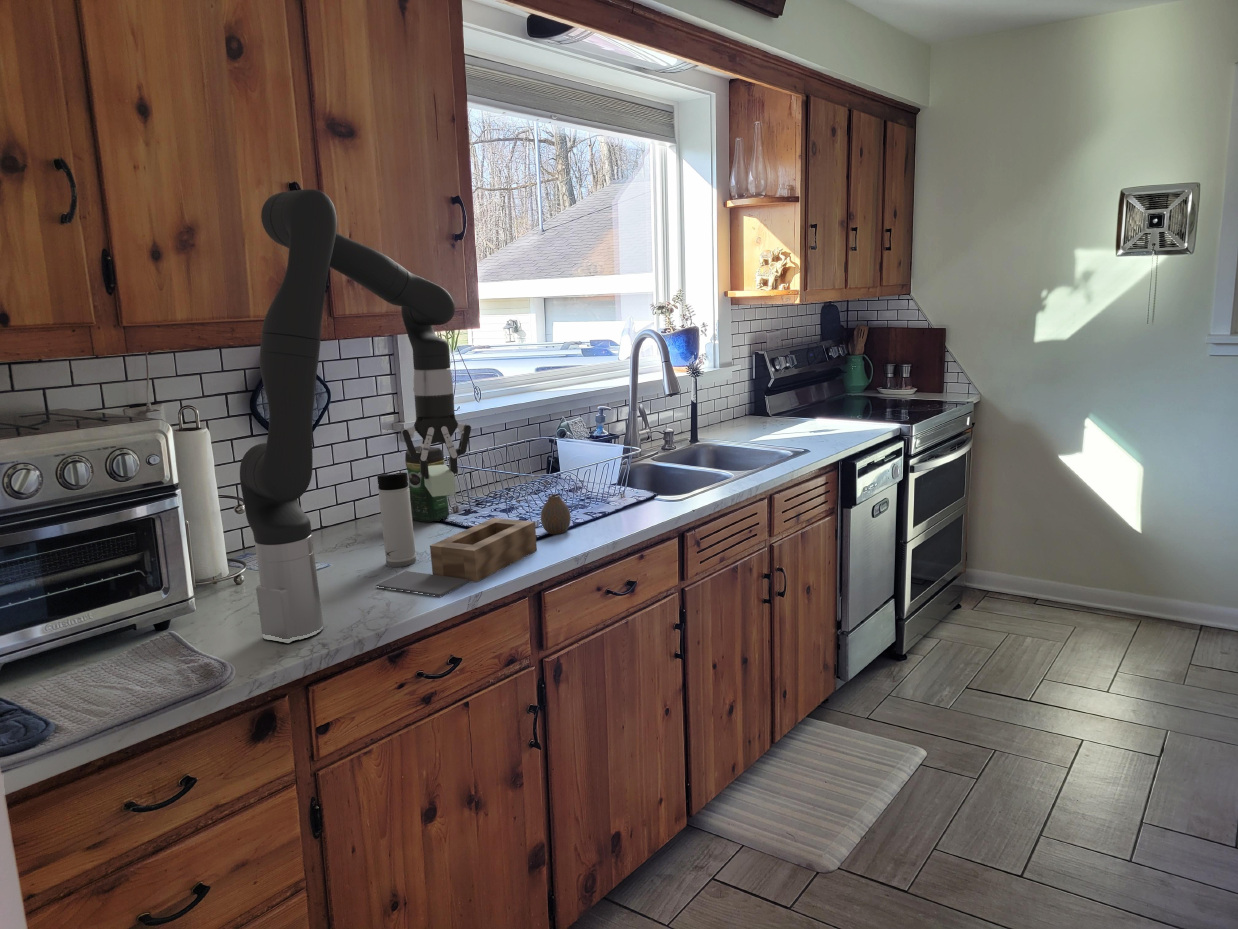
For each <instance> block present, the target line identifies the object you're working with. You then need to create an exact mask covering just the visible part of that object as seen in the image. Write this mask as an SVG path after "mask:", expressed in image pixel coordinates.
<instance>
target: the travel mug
mask: <svg viewBox="0 0 1238 929" xmlns="http://www.w3.org/2000/svg"><path fill="white" fill-rule="evenodd" d="M376 477H377V478H376V479H377V485H378V486H377V487H378V490H377V491H378V498H379V506H380V507H379V508H380V517H381V518H380V519H381V527H382V536H383V544H384V553H385V562H386V563H385V564H386V565H387V566H389V567H392V568H400V567H408V566H412V565H413V564H415V563H416V561H417V555H416V544H415V535H414V527H413V526H414V525H413V524H414V523H413V519H412V513H411V503H410V490H409V476H408V472H395V473H390V474H388V473H386V474H385V473H384V474H379V475H377V476H376Z"/></svg>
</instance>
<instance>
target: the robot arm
mask: <svg viewBox="0 0 1238 929" xmlns="http://www.w3.org/2000/svg"><path fill="white" fill-rule="evenodd" d="M260 213H261V215H260V218H261V224H262V226H263V229H264V231H265V233H266V234H267V235H268V237H269V238H270V239H272V241H273V242H275V243H276V244H278V245H281V246H283V247H284V248H287V249H288V258H287V265H286V271H285V274H284V278H283V280H282V282H281V285H280V287H279V288H278V290H277V292H276V294H275V296H274V298H273V299H272V302H271V303H270V305H269V308H268V310H267V312H266V314H265V318H264V319H263V324H262V328H261V337H260V339H261V340H260V347H259V348H260V351H259V369H260V371H259V372H260V375H261V376H260V377H261V379H262V380H261V381H262V385H263V388H264V392H265V395H266V400H267V405H268V411H269V412H268V414H269V418H268V424H269V425H268V430H267V440H266V442H262V443H258V444H255V445H253V446H252V447H250V448H249V449H248V450H247V451H246V452H245V454H244V455H243V456H242V459H241V462H240V466H239V482H240V483H239V484H240V488H241V494H242V496H241V497H242V499H243V500H242V501H243V504H244V511H245V515H246V516H245V517H246V520H247V523H248V525H249V528H250V529H251V531H252V533H253V538H254V539H253V540H254V548H255V554H256V562H257V569H258V570H257V571H258V575H259V576H258V577H259V585H257V586H256V587H255V591H256V592H255V593H256V598H257V599H256V600H257V606H258V614H259V619H260V629H261V634H265V635H271V636H275V637H279V638H282V639H290V638H292V637H297V636H303V635H307V634H310V633H312V632H314V631H317V630H319V629H320V628H321V627H322V626H323V627H324V622H323V615H322V614H323V612H322V605H321V597H320V591H319V580H318V572H317V565H316V564H317V563H316V557H315V548H314V540H313V531H312V525H311V520H310V518H309V516H307V514H306V513H305V512H304V511H303V509H302V507H301V505H300V503H299V501H298V499H299V498H301V497H302V496H303V495H304V494H305V492H306V491H307V489H308V488H309V485H310V483H311V481H312V476H313V466H314V465H313V463H314V462H313V461H314V460H313V415H314V407H315V406H314V405H315V399H316V398H315V395H316V386H317V385H316V384H317V375H318V366H319V360H320V349H321V340H322V339H321V338H322V337H321V336H322V322H323V315H324V314H323V313H324V306H325V298H326V288H327V281H328V275H329V270H330V269H332V270H334V271H337V272H338V273H339V274H342V275H344V276H345V277H347V278H348V279H351V280H352V281H353V282H355V283H357V284H358V285H360V286H362V287H363V288H365V289H366V290H367V291H368V292H371V293H372V294H374V295H375V296H377V297H379V298H380V299H382V300H383V301H385V302H386V303H389V304H391V305H393V306H398V307H400V309H401V317H402V321H403V325H404V327H405V331H406V334H407V337H408V340H409V344H410V345H411V349H412V361H413V364H412V365H413V392H414V396H413V397H414V408H415V421H414V424H413V426H410V427H406V428H402V429H401V430H400V433H401V435H402V437H403V440H404V443H405V446H406V448H407V449H408V451H409V454H410V456H411V457H412V458H415V459H419V461H420V473H421V475H422V476H424V478H425V479H429V471H428V461H427V455H428V451H429V449H430V447H431V445H434V444H437V443H438V444H439V443H441V444H444V445H445V447H446V450H447V451H448V454H449V455H448V456H449V457H448V468H449V470H450V471H452V472H453V473H454V476H455V475H456V474H458V469H459V468H458V458H459V456H461V455H462V456H463V455H465V454H466V453H467V448H468V444H469V441H470V436H471V431H472V427H471V425H470V424H467V423H462V422H461V423H460V422H458V420H457V418H456V414H455V398H454V385H453V383H454V382H453V375H452V371H451V357H450V346H449V343H448V341H447V340H446V339H444V338H443V337H440V336H437V335H436V333H435V330H434V327H433V326H442V325H445V324H447V323H449V322H450V321H451V320H453V317H454V315H455V312H456V304H455V301H454V299H453V297H452V296H451V294H450V293H449V291H447V289H445V288H444V287H442V286H441V285H438V284H437V283H435V282H433V281H431V280H428V279H426V278H424V277H422V276H419V275H417V274H414V273H412V272H411V271H409V270H407V269H406V268H405V267H404V266H402V265H401V264H399V263H398V262H396V261H395V260H393V259H392V258H390V257H389V256H387V255H385V253H382V252H380V251H377V249H373V248H371V247H369V246H366V245H364V244H361V243H360V242H357V241H355V240H352V239H350V238H348V237H346V236H344V235H342V234H340V233H338V232H337V230H338V217H337V211H336V207H335V205H334V203H333V201H332V200H331V198H330V196H328V194H326V193H325V192H323V191H321V190H319V189H311V188H309V189H308V188H307V189H299V190H297V189H296V190H289V191H288V190H287V191H282V192H281V191H280V192H278V193H275V194H273V195H271V196H270V197H268V198H267V199H266V201H264V204H263V205H262V208H261V212H260ZM457 429H458V434H460V440H459V443H458V447H457V448H455V445H454V442H453V440H452V437H453V435H454V433H455V431H456V430H457ZM415 432H416V433H417V434H418V435H419V436H420V438H422V440H421V444H420V446H421V450H420V452H416V450H415V448H414V447H415V445H414V443H413V440H412V439H413V438H414V437H415ZM407 449H406V450H407Z"/></svg>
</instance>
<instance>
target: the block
mask: <svg viewBox="0 0 1238 929" xmlns="http://www.w3.org/2000/svg"><path fill="white" fill-rule="evenodd" d="M428 471H429V479H425V478H424V481H425V486H426V488H427V489H428V491H429V492H430V494H431V495H432V497H435V496H445V495H447V496H453V495H454V496H455V495H457V494H456V479H455V476H454V473H453V472H452V471H450V470H449V466H448V465H447V464H445V463H444V465H433V466H428Z"/></svg>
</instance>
